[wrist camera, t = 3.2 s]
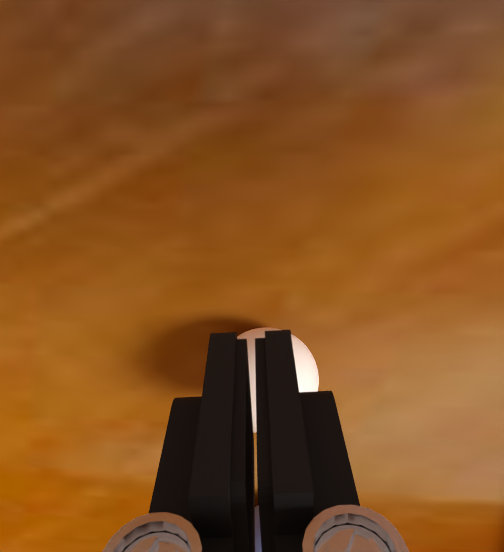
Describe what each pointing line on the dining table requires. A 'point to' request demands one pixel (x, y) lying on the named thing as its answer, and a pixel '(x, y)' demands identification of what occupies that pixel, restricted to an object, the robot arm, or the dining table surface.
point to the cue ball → (303, 363)
